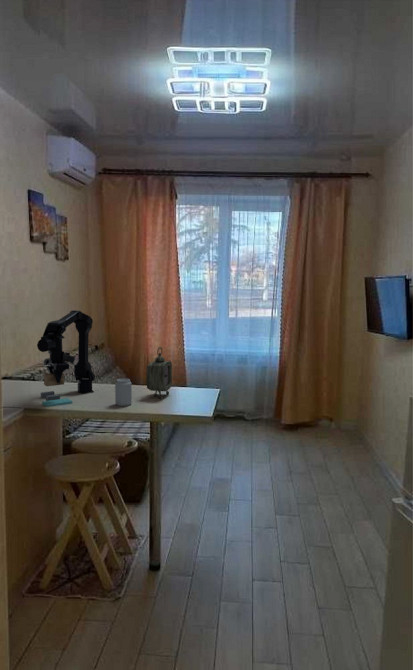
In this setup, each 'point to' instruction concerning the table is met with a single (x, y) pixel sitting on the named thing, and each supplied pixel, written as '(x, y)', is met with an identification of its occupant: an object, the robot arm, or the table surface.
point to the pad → (57, 402)
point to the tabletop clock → (159, 375)
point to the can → (123, 392)
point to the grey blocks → (50, 396)
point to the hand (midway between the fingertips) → (56, 382)
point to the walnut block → (52, 380)
